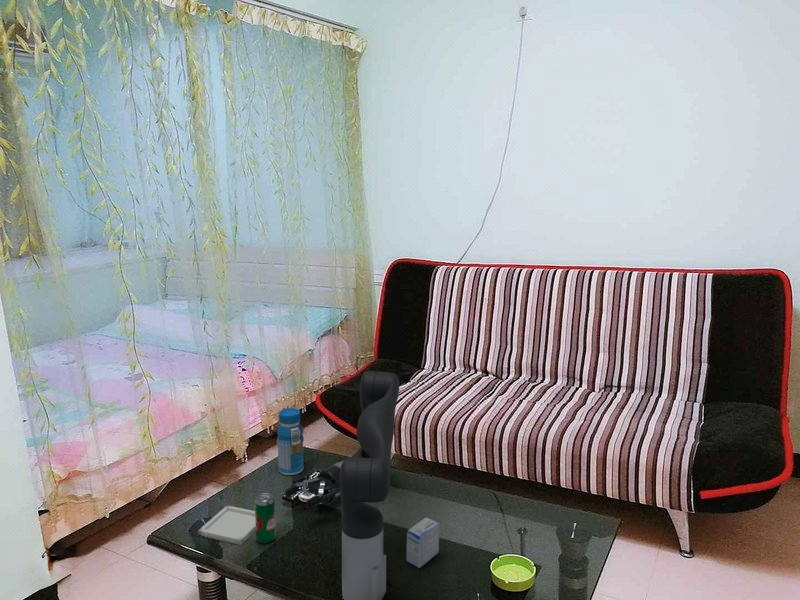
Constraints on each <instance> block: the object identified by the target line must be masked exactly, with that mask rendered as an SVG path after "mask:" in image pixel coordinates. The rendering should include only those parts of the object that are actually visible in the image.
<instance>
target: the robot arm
mask: <svg viewBox="0 0 800 600" xmlns="http://www.w3.org/2000/svg"><path fill="white" fill-rule="evenodd" d="M359 383H360V384H359V401H360V408H361V414H360V415H359V418H358V423H357V427H356V431H355V432H356V439H357V441H358V443H359V445H360V447H359V448H358V450H357V451H356V452H355V453H353V454H352V456H349V457H347V458H345V459H343V460H342V461H339V462H336V463H334V464H332V465H331V466H328V467H326V468H325V469H322V470H321V471H320V472H319V473H318V475H317V476H315V477H313V478H312V477H310V474H309V473H306V474H303V475H301V476H299V477H297V478H294V479H293V480H292V481H291V486H290V487H289V488H287V489H285V490H284V498H287V499H289V498H290V497H293V496H295V494H296V495H297V494H298V493H303V494H312V495H314V496H312V497H311V498H309V499H307V500H306V501H305V507H306V508H307V509H311V508H314V507H315V506H317V505H322V504H324V505H325V506H329V505H330V504H332V503H333V502H335V501H336V500H338V499H340V504H341V505H340V506H341V508H340V510H341V591H342V593H341V597H342V596H343V597H342V600H343V599H344V600H383V598H384V596H385V595H386V593H387V555H386V554H384V515H383V514H382V511H380V510H379V509H378V508H376V507H374V506H373V505H370V504H368V503H380V502H381V503H382V502H384V501H385V500H386V499H387V497H388V495H389V492H390V487H391V480H392V479H391V476H392V475H391V474H392V473H391V471H392V470H391V469H392V467H391V465H392V464H391V462H392V461H391V460H392V459H391V457H392V447H393V440H394V435H395V426H396V425H395V422H396V409H397V404H398V398H399V393H400V380H399V376H398V375H397V374H396V373H394V372H389V371H387V372H386V371H377V370H365V371H364V372H363V373H362V375H361V379H360V382H359Z"/></svg>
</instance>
